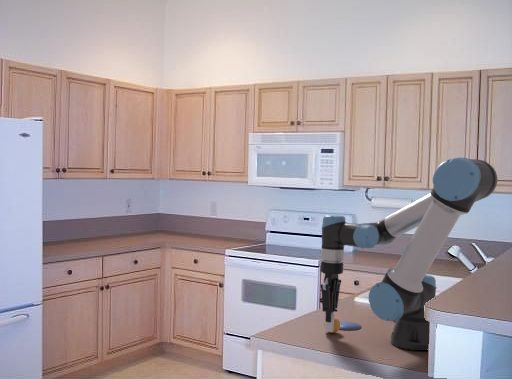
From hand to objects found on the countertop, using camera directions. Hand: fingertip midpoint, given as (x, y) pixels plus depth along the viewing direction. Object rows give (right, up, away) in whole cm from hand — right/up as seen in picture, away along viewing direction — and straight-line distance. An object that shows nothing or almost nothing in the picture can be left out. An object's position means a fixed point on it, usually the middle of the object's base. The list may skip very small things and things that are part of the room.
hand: (329, 330), depth 191 cm
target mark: (+7, -1, +13) cm, 15 cm away
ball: (+1, +1, +3) cm, 4 cm away
